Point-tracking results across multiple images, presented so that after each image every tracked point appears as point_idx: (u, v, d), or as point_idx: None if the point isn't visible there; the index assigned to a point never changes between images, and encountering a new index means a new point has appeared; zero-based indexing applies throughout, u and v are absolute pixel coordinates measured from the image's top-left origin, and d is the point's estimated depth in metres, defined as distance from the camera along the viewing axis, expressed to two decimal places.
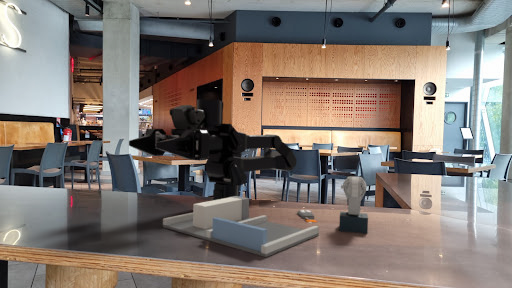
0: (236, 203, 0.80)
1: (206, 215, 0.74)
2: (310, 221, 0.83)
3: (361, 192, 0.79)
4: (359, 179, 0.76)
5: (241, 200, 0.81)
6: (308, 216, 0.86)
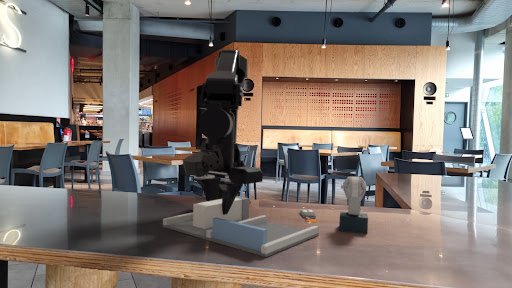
0: (236, 203, 0.80)
1: (206, 215, 0.74)
2: (310, 221, 0.84)
3: (361, 192, 0.79)
4: (359, 179, 0.76)
5: (241, 200, 0.81)
6: (309, 216, 0.87)
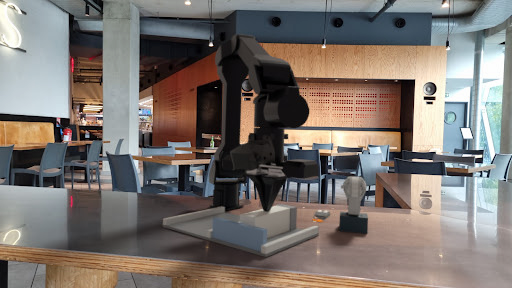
0: (284, 212, 0.72)
1: (256, 226, 0.66)
2: (315, 220, 0.84)
3: (361, 192, 0.79)
4: (359, 179, 0.76)
5: (289, 209, 0.74)
6: (319, 216, 0.87)
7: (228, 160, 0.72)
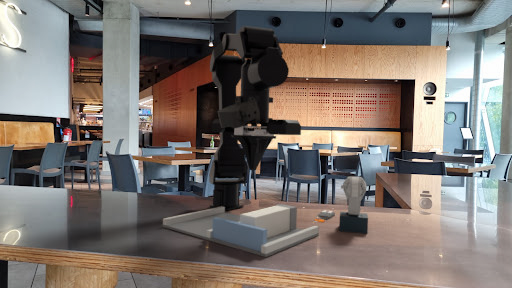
0: (284, 212, 0.72)
1: (256, 226, 0.66)
2: (317, 220, 0.84)
3: (361, 192, 0.79)
4: (359, 179, 0.76)
5: (289, 209, 0.74)
6: (322, 216, 0.87)
7: (217, 123, 0.77)
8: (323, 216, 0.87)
